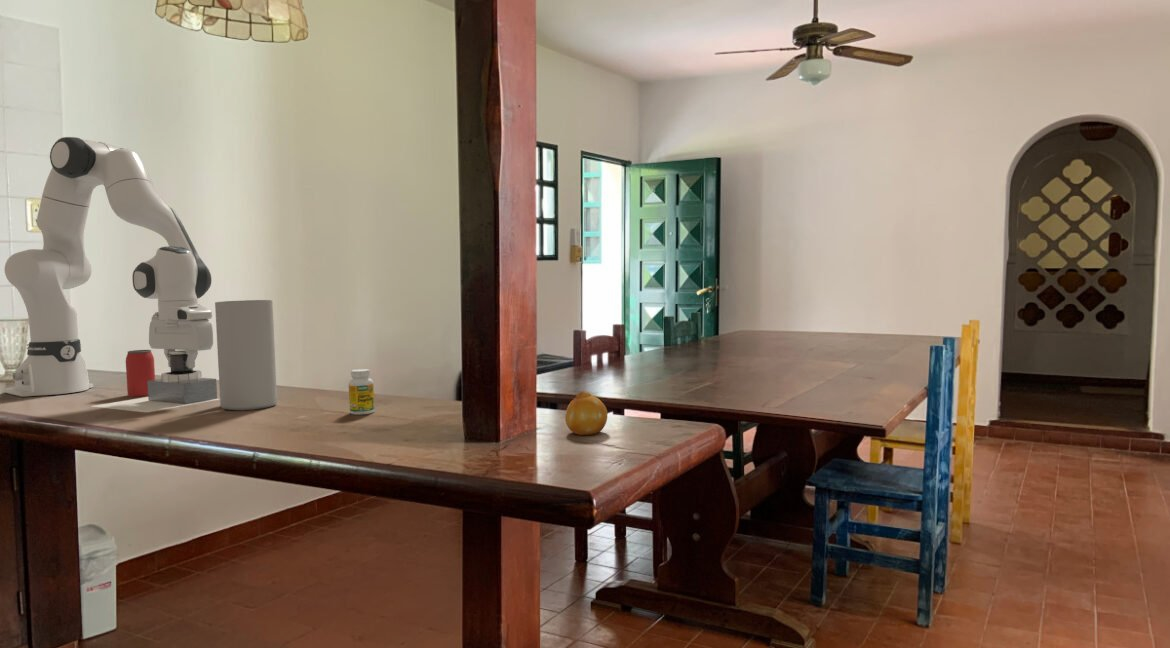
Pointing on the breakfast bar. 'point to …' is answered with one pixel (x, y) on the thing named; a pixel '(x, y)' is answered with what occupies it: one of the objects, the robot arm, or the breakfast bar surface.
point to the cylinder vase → (246, 354)
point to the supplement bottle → (361, 392)
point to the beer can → (139, 372)
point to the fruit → (586, 414)
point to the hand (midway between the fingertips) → (181, 367)
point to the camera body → (182, 388)
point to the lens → (179, 362)
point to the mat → (144, 405)
